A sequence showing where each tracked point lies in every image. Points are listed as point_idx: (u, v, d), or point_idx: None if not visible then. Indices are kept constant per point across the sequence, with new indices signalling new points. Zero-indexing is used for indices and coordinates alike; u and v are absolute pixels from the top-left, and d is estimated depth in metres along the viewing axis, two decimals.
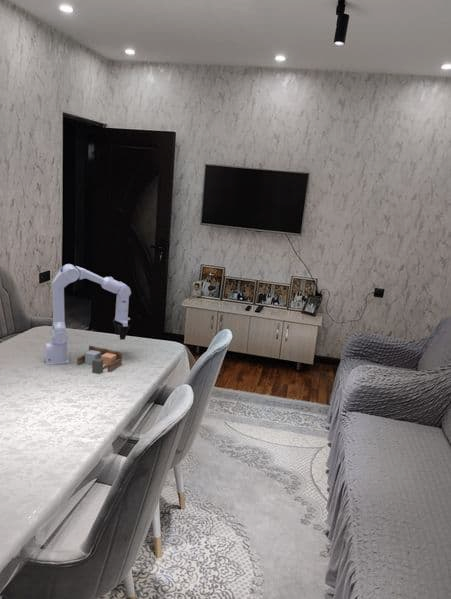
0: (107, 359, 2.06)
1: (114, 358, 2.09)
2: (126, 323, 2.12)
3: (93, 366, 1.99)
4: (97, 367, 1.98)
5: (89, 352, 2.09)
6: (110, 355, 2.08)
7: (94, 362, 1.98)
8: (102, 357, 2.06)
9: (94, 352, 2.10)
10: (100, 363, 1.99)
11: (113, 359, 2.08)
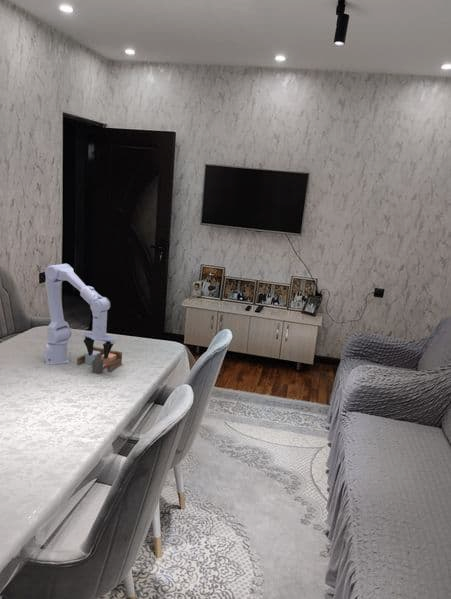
0: (107, 359, 2.06)
1: (114, 358, 2.09)
2: None
3: (93, 366, 1.99)
4: (97, 367, 1.98)
5: None
6: (111, 355, 2.08)
7: (94, 362, 1.98)
8: (102, 357, 2.06)
9: (94, 352, 2.10)
10: (100, 363, 1.99)
11: (113, 359, 2.08)
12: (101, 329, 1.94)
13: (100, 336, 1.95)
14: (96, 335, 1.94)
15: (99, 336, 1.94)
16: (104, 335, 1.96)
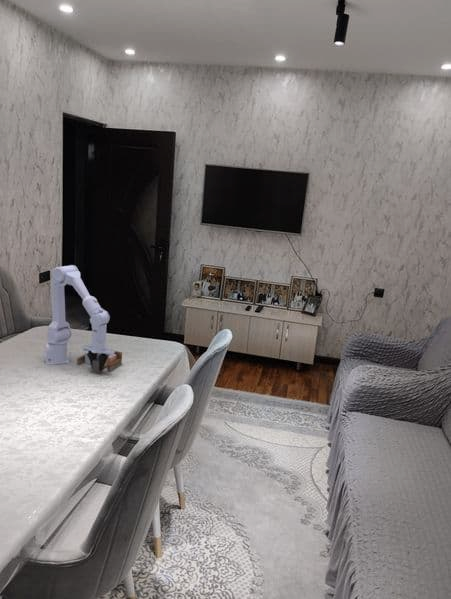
0: (107, 358, 2.06)
1: (114, 358, 2.09)
2: None
3: (93, 366, 1.99)
4: (97, 367, 1.98)
5: None
6: None
7: (94, 362, 1.98)
8: None
9: None
10: None
11: (113, 359, 2.08)
12: (100, 342, 1.95)
13: (99, 349, 1.96)
14: (95, 348, 1.96)
15: (98, 349, 1.96)
16: (103, 348, 1.97)
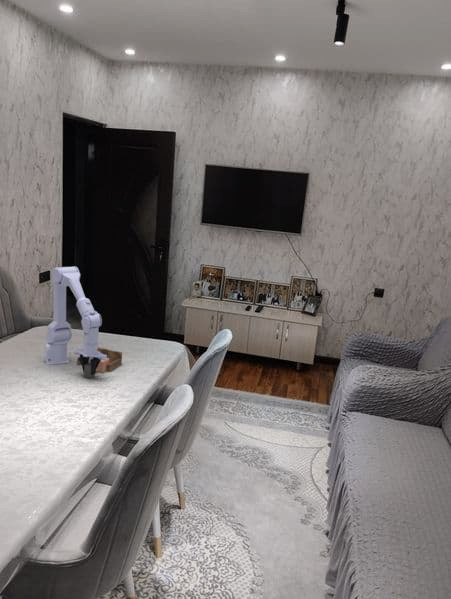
0: (100, 363, 2.00)
1: (107, 362, 2.03)
2: None
3: (85, 370, 1.93)
4: (89, 371, 1.92)
5: None
6: None
7: (86, 366, 1.92)
8: None
9: None
10: None
11: (106, 363, 2.02)
12: (92, 346, 1.89)
13: (91, 353, 1.90)
14: (87, 352, 1.90)
15: (90, 353, 1.90)
16: (95, 352, 1.91)
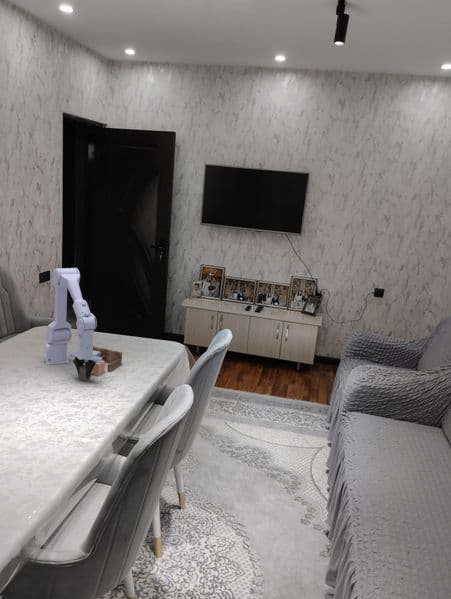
0: (95, 365, 1.96)
1: (103, 365, 2.00)
2: None
3: (80, 373, 1.90)
4: (84, 374, 1.89)
5: None
6: None
7: (81, 369, 1.89)
8: None
9: (94, 352, 2.10)
10: None
11: (101, 366, 1.98)
12: (87, 348, 1.86)
13: (86, 355, 1.86)
14: (82, 354, 1.86)
15: (85, 355, 1.86)
16: (90, 354, 1.88)
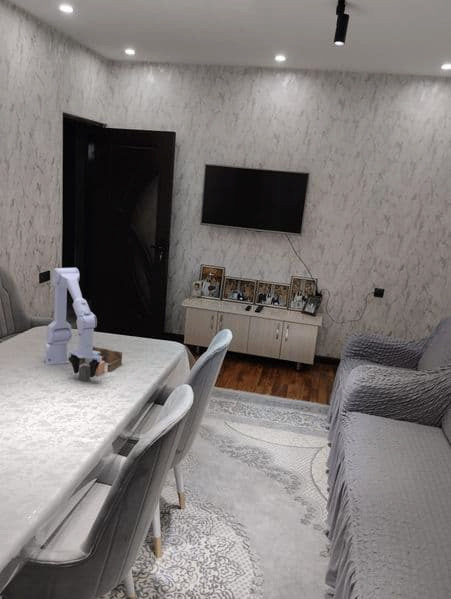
0: None
1: (103, 365, 1.99)
2: None
3: (80, 373, 1.90)
4: (84, 375, 1.89)
5: None
6: None
7: (81, 369, 1.89)
8: None
9: (94, 352, 2.10)
10: (87, 370, 1.90)
11: (101, 366, 1.98)
12: (87, 347, 1.86)
13: (86, 354, 1.86)
14: (82, 353, 1.86)
15: (85, 354, 1.86)
16: (90, 353, 1.88)
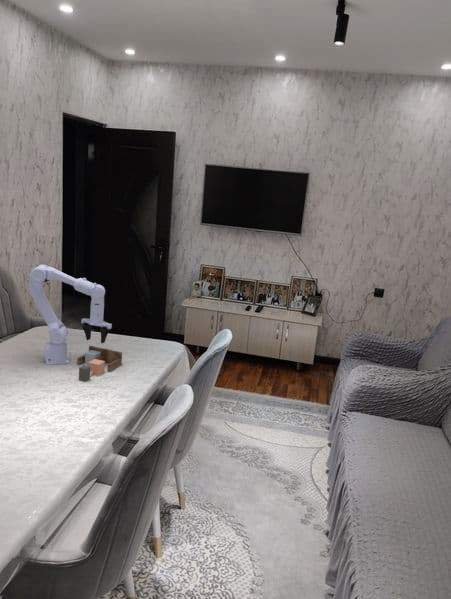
0: (95, 365, 1.96)
1: (103, 365, 1.99)
2: None
3: (80, 373, 1.90)
4: (84, 375, 1.89)
5: (89, 352, 2.09)
6: (99, 362, 1.98)
7: (81, 369, 1.89)
8: (90, 364, 1.97)
9: (94, 352, 2.10)
10: (87, 370, 1.90)
11: (101, 366, 1.98)
12: (98, 315, 2.04)
13: (97, 321, 2.05)
14: (93, 320, 2.04)
15: (96, 321, 2.05)
16: (101, 321, 2.06)
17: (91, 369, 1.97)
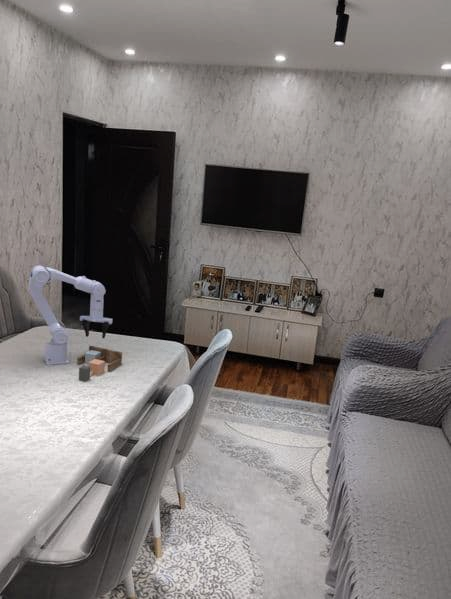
0: (95, 365, 1.96)
1: (103, 365, 1.99)
2: None
3: (80, 373, 1.90)
4: (84, 375, 1.89)
5: (89, 352, 2.09)
6: (99, 362, 1.98)
7: (81, 369, 1.89)
8: (90, 364, 1.97)
9: (94, 352, 2.10)
10: (87, 370, 1.90)
11: (101, 366, 1.98)
12: (99, 311, 2.10)
13: (99, 317, 2.10)
14: (95, 317, 2.09)
15: (98, 317, 2.10)
16: (102, 316, 2.12)
17: (91, 369, 1.97)
